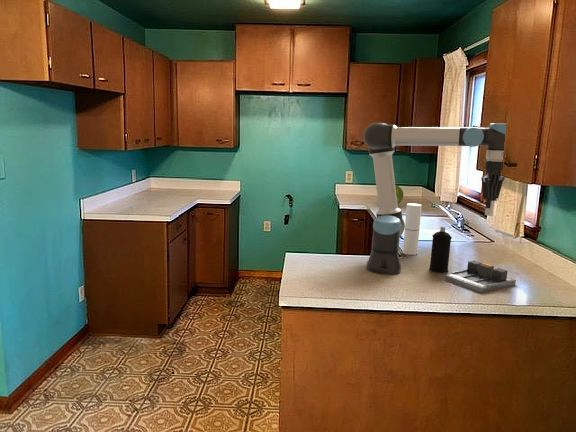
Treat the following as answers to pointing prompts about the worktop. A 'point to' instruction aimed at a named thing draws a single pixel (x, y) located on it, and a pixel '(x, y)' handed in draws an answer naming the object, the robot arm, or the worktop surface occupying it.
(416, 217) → the cylindrical container
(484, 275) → the breaker handle
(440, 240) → the aerosol can
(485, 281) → the panel
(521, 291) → the worktop surface
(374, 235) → the robot arm
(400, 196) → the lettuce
